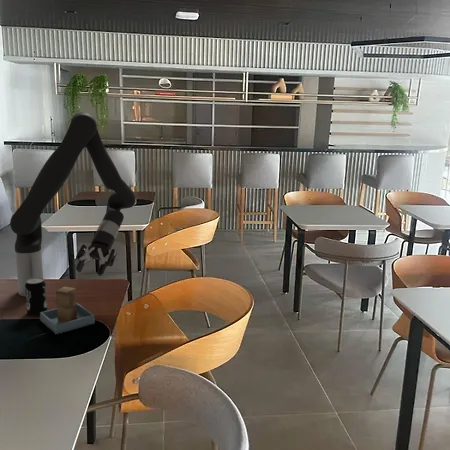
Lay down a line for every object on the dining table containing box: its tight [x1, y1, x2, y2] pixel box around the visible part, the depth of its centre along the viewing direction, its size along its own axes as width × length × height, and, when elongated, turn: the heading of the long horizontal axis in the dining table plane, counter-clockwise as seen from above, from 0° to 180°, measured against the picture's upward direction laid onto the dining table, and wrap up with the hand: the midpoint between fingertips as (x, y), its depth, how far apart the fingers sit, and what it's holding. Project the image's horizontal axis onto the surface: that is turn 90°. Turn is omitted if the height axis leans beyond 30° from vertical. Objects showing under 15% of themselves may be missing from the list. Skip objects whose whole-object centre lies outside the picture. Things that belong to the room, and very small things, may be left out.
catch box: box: [39, 302, 96, 335], centre depth 156 cm, size 13×13×3 cm
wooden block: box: [55, 286, 78, 323], centre depth 155 cm, size 4×4×11 cm
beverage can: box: [25, 277, 48, 317], centre depth 162 cm, size 7×7×12 cm
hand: (88, 273), depth 166 cm, fingers open, 8 cm apart
